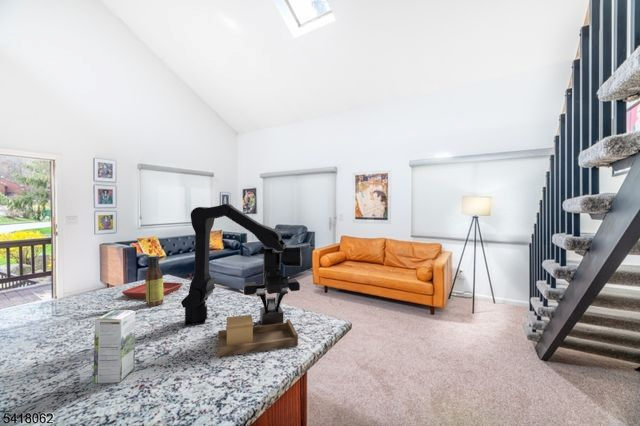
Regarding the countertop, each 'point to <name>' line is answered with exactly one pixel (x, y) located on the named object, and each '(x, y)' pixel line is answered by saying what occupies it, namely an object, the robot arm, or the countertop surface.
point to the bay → (260, 339)
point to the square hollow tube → (271, 317)
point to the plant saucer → (141, 290)
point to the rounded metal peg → (271, 304)
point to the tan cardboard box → (239, 330)
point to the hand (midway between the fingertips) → (271, 311)
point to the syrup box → (114, 346)
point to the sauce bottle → (154, 282)
